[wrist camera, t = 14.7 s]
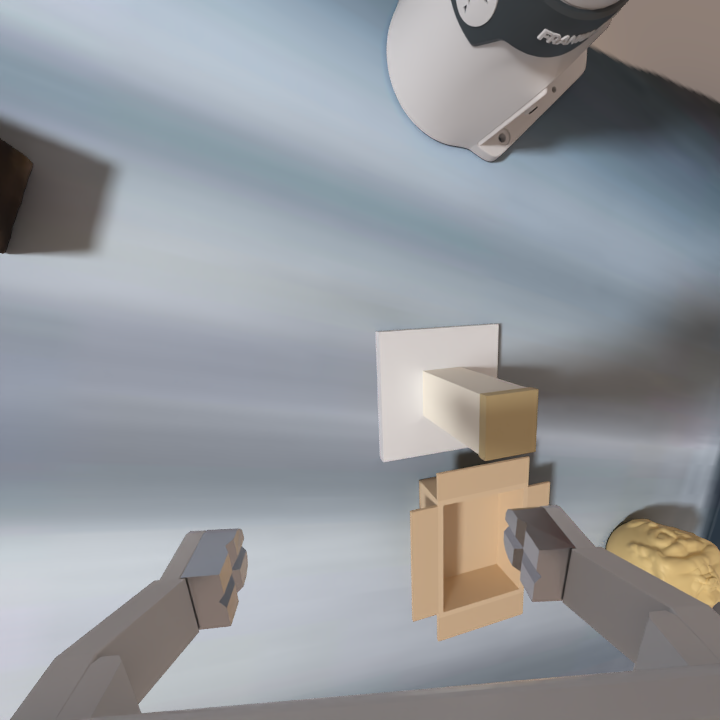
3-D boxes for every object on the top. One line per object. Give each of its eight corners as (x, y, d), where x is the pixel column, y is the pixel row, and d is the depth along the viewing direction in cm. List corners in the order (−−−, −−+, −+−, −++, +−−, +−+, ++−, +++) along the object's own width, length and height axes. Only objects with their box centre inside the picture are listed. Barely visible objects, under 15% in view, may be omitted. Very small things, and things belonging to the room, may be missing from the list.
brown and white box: (422, 416, 36) (485, 461, 26) (421, 369, 35) (486, 396, 25) (460, 411, 37) (535, 451, 27) (460, 365, 37) (538, 389, 26)
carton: (398, 613, 41) (413, 649, 37) (394, 460, 38) (410, 479, 33) (516, 578, 45) (542, 606, 41) (522, 438, 42) (551, 453, 38)
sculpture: (655, 500, 51) (754, 549, 40) (646, 570, 52) (738, 634, 42) (596, 513, 48) (687, 570, 37) (589, 587, 50) (673, 660, 39)
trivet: (379, 457, 37) (383, 462, 36) (375, 331, 35) (379, 332, 34) (488, 439, 41) (495, 442, 39) (491, 323, 38) (498, 324, 37)
